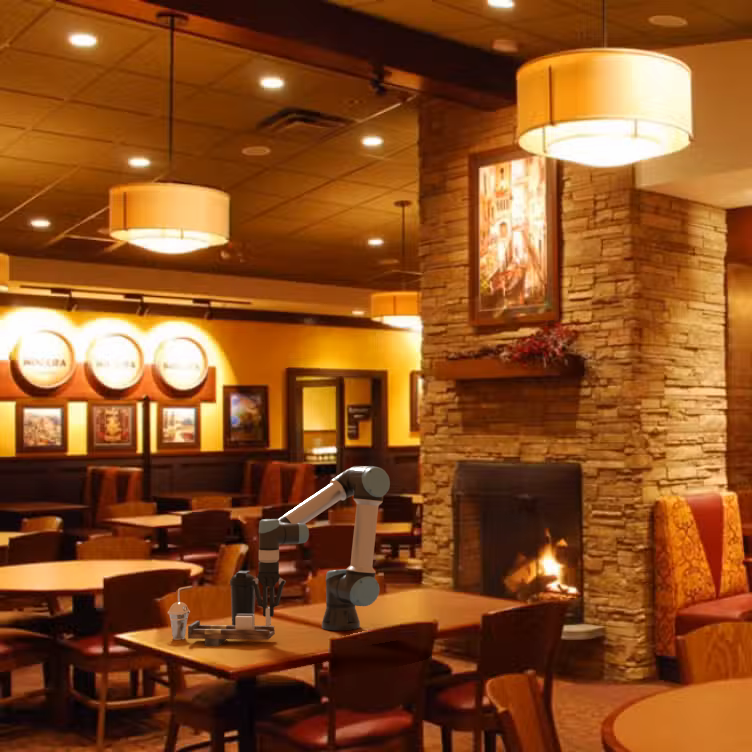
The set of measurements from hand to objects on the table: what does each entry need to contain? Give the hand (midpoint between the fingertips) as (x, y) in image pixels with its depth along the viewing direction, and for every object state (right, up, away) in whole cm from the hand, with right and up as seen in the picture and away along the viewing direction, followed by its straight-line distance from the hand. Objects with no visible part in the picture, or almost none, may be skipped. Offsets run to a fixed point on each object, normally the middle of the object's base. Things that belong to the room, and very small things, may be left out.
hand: (268, 625), depth 414 cm
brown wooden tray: (-14, -7, +1) cm, 15 cm away
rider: (-9, -3, +1) cm, 9 cm away
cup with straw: (-35, -8, +11) cm, 37 cm away
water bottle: (-13, -8, +28) cm, 32 cm away
